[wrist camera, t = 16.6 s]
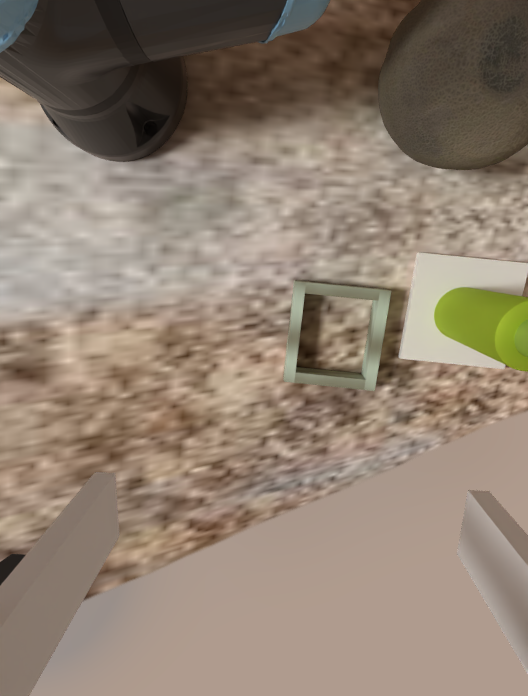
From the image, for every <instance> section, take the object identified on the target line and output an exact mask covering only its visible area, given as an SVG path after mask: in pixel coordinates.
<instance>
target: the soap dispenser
mask: <svg viewBox="0 0 528 696" xmlns="http://www.w3.org/2000/svg"><path fill="white" fill-rule="evenodd" d="M434 320H435V324H436V326H437V328H438V330H439V331H440V332H441V333H442V334H443V335H445V336H446V337H449V338H451V339H453V340H455V341H457V342H459V343H461V344H463V345H465V346H467V347H469V348H472V349H474V350H476V351H478V352H480V353H482V354H484V355H486V356H488V357H490V358H492V359H495V360H497V361H499V362H501V363H503V364H505V365H507V366H509V367H511V368H514V369H516V370H520V371H528V297H523V296H517V295H511V294H505V293H499V292H492V291H486V290H480V289H474V288H467V287H460V288H455V289H453V290H450V291H449V292H447V293H446V294H444V295H443V296H442V297H441V298H440V300H439V301H438V303H437V305H436V307H435V311H434Z"/></svg>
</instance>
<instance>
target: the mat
mask: <svg viewBox="0 0 528 696" xmlns="http://www.w3.org/2000/svg"><path fill="white" fill-rule="evenodd" d="M527 274H528V263H521V262H511V261H501V260H490V259H480V258H470V257H460V256H449V255H439V254H429V253H417V255H416V261H415V267H414V272H413V278H412V283H411V289H410V295H409V300H408V306H407V311H406V317H405V323H404V328H403V334H402V339H401V345H400V351H399V356H398V357H399V358H400V359H410V360H420V361H430V362H439V363H449V364H459V365H468V366H478V367H488V368H498V369H505V364H503V363H501V362H499V361H497V360H495V359H492V358H490V357H488V356H486V355H484V354H482V353H480V352H478V351H476V350H474V349H472V348H469V347H467V346H465V345H463V344H461V343H459V342H457V341H455V340H453V339H451V338H449V337H446V336H445V335H443V334H442V333H441V332H440V331H439V330H438V328H437V326H436V324H435V320H434V311H435V307H436V305H437V303H438V301H439V300H440V298H441V297H442V296H443V295H444V294H446V293H447V292H449V291H450V290H453V289H455V288H460V287H467V288H474V289H480V290H486V291H492V292H499V293H505V294H511V295H517V296H522V295H523V291H524V287H525V283H526V278H527Z"/></svg>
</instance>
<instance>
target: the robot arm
mask: <svg viewBox="0 0 528 696" xmlns="http://www.w3.org/2000/svg"><path fill="white" fill-rule="evenodd" d="M329 2H330V0H0V77H1V78H3V79H4V80H6V81H7V82H9V83H11V84H12V85H14V86H16V87H17V88H19V89H20V90H22V91H24V92H25V93H27V94H28V95H30V96H32V97H33V98H35V99H37V101H38V102H39V103H40V104H41V107H42V109H43V110H44V112H45V114H46V115H47V117H48V118H49V120H50V121H51V123H52V124H53V125H54V127H55V128H56V129H57V130H58V131H59V132H60V133H61V134H62V135H63V136H64V137H65V138H66V139H67V140H69V141H70V142H71V143H73V144H74V145H76V146H77V147H79V148H81V149H82V150H84V151H86V152H88V153H90V154H92V155H94V156H96V157H99V158H102V159H106V160H110V161H131V160H136V159H139V158H142V157H145V156H147V155H149V154H151V153H153V152H154V151H156V150H157V149H158V148H160V147H161V146H162V145H163V144H164V143H165V142H166V141H167V140H168V139H169V138H170V137H171V135H172V134H173V133H174V131H175V129H176V128H177V126H178V124H179V122H180V120H181V117H182V115H183V112H184V108H185V104H186V98H187V73H186V67H185V62H184V59H183V56H187V55H192V54H197V53H202V52H207V51H213V50H218V49H223V48H228V47H233V46H238V45H243V44H248V43H253V42H258V43H268V41H272V40H273V39H274V38H275V37H277V36H281V35H285V34H289V33H293V32H296V31H300V30H304V29H307V28H308V27H309V26H311V25H312V24H314V23H315V22H316V20H318V19H319V18H320V17H321V16H322V14H323V13H324V11H325V10H326V8H327V6H328V4H329ZM118 537H119V522H118V508H117V493H116V478H115V473H102V472H95V473H94V474H93V475H92V477H91V478H90V479H89V480H88V481H87V483H86V484H85V485H84V486H83V487H82V489H81V490H80V491H79V492H78V493H77V495H76V496H75V497H74V498H73V499H72V500H71V502H70V503H69V504H68V505H67V506H66V508H65V509H64V510H63V511H62V512H61V514H60V515H59V516H58V517H57V518H56V520H55V521H54V522H53V523H52V524H51V526H50V527H49V528H48V529H47V530H46V532H45V533H44V534H43V535H42V536H41V538H40V539H39V540H38V541H37V542H36V544H35V545H34V546H33V547H32V548H31V550H30V551H29V552H28V553H27V554H26V555H21V554H11V555H10V556H8V557H7V558H5V559H4V560H3V561H1V562H0V696H29V695H30V693H31V692H32V690H33V688H34V686H35V685H36V683H37V681H38V679H39V677H40V676H41V674H42V672H43V670H44V669H45V667H46V665H47V663H48V661H49V660H50V658H51V656H52V654H53V652H54V651H55V649H56V647H57V646H58V644H59V642H60V640H61V638H62V637H63V635H64V633H65V631H66V630H67V628H68V626H69V624H70V623H71V621H72V619H73V617H74V615H75V614H76V612H77V610H78V608H79V607H80V605H81V603H82V601H83V599H84V598H85V596H86V594H87V592H88V591H89V589H90V587H91V585H92V583H93V582H94V580H95V578H96V576H97V575H98V573H99V571H100V569H101V568H102V566H103V564H104V562H105V560H106V559H107V557H108V555H109V553H110V552H111V550H112V548H113V546H114V544H115V543H116V541H117V539H118ZM457 555H458V556H459V558H460V560H461V561H462V563H463V565H464V566H465V568H466V570H467V572H468V573H469V575H470V577H471V578H472V580H473V582H474V583H475V585H476V587H477V589H478V590H479V592H480V594H481V595H482V597H483V599H484V600H485V602H486V604H487V606H488V607H489V609H490V611H491V612H492V614H493V616H494V618H495V619H496V621H497V623H498V624H499V626H500V628H501V629H502V631H503V633H504V635H505V636H506V638H507V640H508V641H509V643H510V645H511V646H512V648H513V650H514V651H515V653H516V655H517V657H518V658H519V660H520V662H521V664H522V665H523V667H524V668H525V670H526V672H527V674H528V535H527V534H526V533H525V532H524V530H523V529H522V528H521V527H520V526H519V525H518V524H517V522H516V521H515V520H514V519H513V518H512V517H511V516H510V514H509V513H508V512H507V511H506V510H505V509H504V508H503V507H502V505H501V504H500V503H499V502H498V501H497V500H496V498H495V497H494V496H493V495H492V494H491V493H490V492H489V491H474V490H468V493H467V499H466V505H465V511H464V517H463V522H462V528H461V535H460V539H459V546H458V551H457Z"/></svg>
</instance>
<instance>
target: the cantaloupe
mask: <svg viewBox="0 0 528 696" xmlns="http://www.w3.org/2000/svg"><path fill="white" fill-rule="evenodd" d="M378 97H379V106H380V111H381V115H382V119H383V122H384V125H385V127H386V129H387V131H388V133H389V134H390V136H391V138H392V139H393V140H394V142H395V143H396V144H397V145H398V147H399V148H400V149H401V150H402V151H403V152H404V153H405V154H407V155H408V156H409V157H411V158H412V159H414V160H415V161H417V162H420V163H422V164H425V165H428V166H432V167H436V168H441V169H456V170H471V169H479V168H483V167H486V166H490V165H493V164H496V163H498V162H501V161H503V160H505V159H507V158H508V157H510V156H511V155H513V154H515V153H516V152H518V151H519V150H521V149H522V148H523V147H525V146H526V145H527V144H528V0H421V1H420V3H419V4H418V5H417V6H416V7H415V8H414V9H413V10H412V11H410V12H409V14H408V15H407V16H406V17H405V18H404V19H403V20H402V22H401V23H400V25H399V26H398V27H397V29H396V31H395V32H394V34H393V36H392V39H391V41H390V45H389V48H388V52H387V55H386V58H385V61H384V64H383V66H382V68H381V72H380V76H379V84H378Z"/></svg>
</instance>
